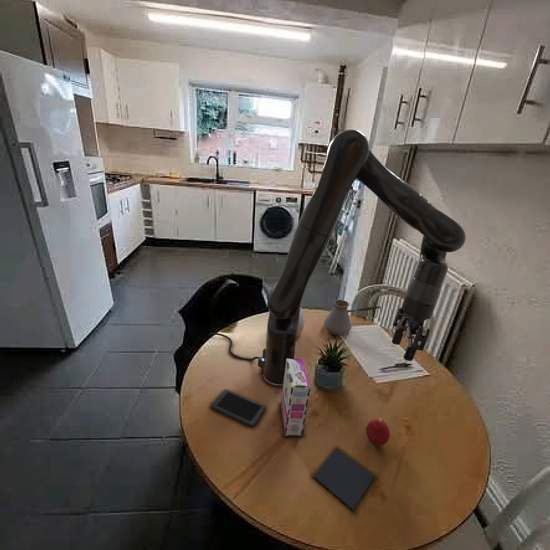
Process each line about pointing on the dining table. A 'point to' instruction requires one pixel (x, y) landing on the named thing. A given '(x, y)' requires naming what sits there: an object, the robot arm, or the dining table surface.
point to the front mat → (344, 478)
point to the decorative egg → (300, 322)
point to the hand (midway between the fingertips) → (401, 351)
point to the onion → (377, 432)
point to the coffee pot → (341, 317)
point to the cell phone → (238, 407)
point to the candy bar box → (294, 397)
